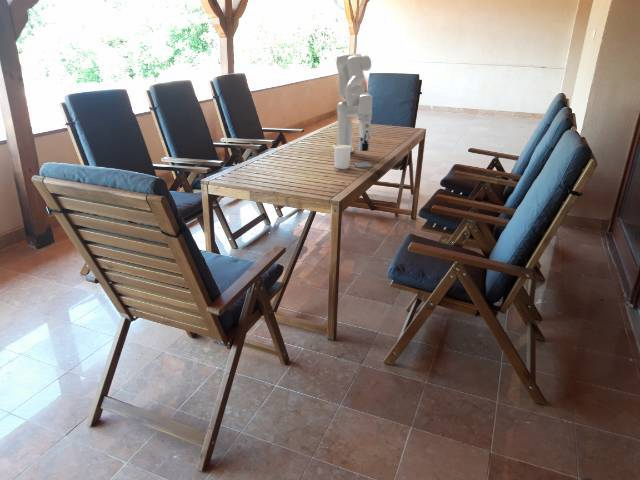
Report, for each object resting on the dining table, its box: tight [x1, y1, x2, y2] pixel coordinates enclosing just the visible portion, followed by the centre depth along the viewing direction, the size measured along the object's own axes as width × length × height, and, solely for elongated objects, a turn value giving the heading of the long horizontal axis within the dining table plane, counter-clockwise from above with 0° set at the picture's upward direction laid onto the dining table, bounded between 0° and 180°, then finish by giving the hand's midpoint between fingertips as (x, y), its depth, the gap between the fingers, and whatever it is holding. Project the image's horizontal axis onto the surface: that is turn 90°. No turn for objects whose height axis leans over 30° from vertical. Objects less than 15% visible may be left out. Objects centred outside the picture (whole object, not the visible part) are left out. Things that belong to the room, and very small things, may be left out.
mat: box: [352, 161, 374, 169], centre depth 280 cm, size 10×9×1 cm
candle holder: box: [333, 144, 352, 170], centre depth 273 cm, size 10×10×12 cm
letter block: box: [357, 140, 370, 152], centre depth 275 cm, size 5×5×5 cm
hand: (363, 149), depth 276 cm, fingers closed on letter block, 5 cm apart
